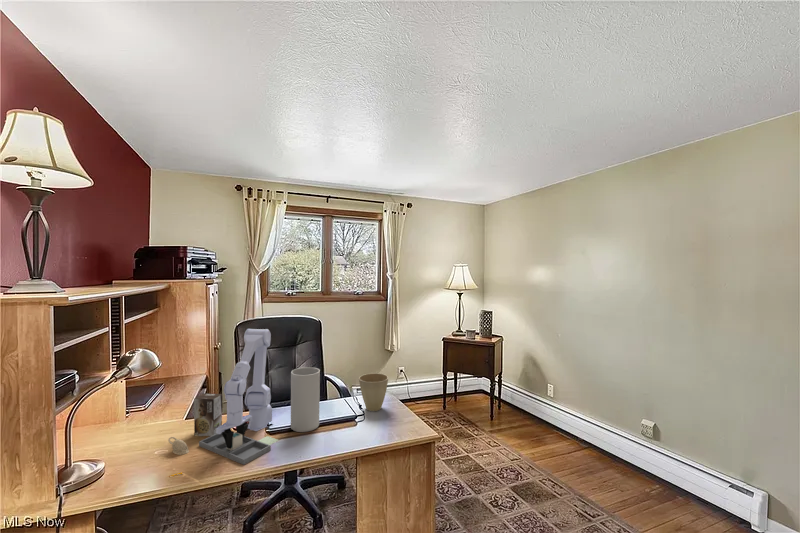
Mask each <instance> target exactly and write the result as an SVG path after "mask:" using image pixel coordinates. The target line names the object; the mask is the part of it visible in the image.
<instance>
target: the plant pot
mask: <svg viewBox="0 0 800 533" xmlns="http://www.w3.org/2000/svg"><path fill="white" fill-rule="evenodd" d="M358 382H359V388H360V393H361V396H362V397H361V398H362V401H363V403H364V406H365V408H366V410H367V411H368V412H369V411H370V412H379V411H380V410H381V409H382V407H383V403H384V401H385V397H386V394H387V389H388V382H389V376H388V375H387V374H385V373H378V372H375V373H374V372H373V373H366V374H362V375H360V376H359V377H358Z"/></svg>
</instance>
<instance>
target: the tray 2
mask: <svg viewBox="0 0 800 533" xmlns="http://www.w3.org/2000/svg"><path fill="white" fill-rule="evenodd" d="M254 440H255V439H254V438H251V437H248V436H246V435H244V437H243V441H242V446H244V445H246V444H248V443H250V442H252V441H254ZM242 446H240V447H242ZM240 447H238V448H240ZM238 448H235V449H233V450H229V449H227V446H226V442H223V443H221V444H219V445H217V446H215V447H213V452H212V453H215V454H216V455H220V456H222V457H224V458H227V459H229V458H228V453H230V452H232V451H234V450H236V449H238Z"/></svg>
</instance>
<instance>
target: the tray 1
mask: <svg viewBox="0 0 800 533" xmlns="http://www.w3.org/2000/svg"><path fill="white" fill-rule="evenodd" d="M233 432H234V433H235V432H236V431H233ZM223 442H225V439H224V437H223V435H222V434H215V435H213V436H207V437H206V438H204V439H201V440H200V441H199V442H198V446H199V447H200V448H202V449H206V450H207V451H210V452H212V453H214V452H213V447H215V446H217V445H219V444H221V443H223Z"/></svg>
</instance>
